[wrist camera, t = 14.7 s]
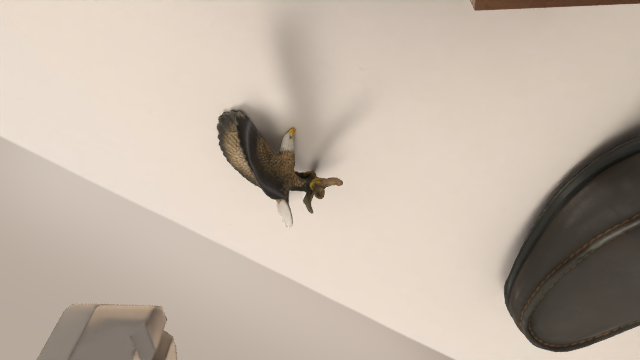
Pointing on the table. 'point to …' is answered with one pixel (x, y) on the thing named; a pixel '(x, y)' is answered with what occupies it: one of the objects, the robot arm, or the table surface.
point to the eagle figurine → (268, 163)
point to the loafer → (582, 258)
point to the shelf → (542, 3)
